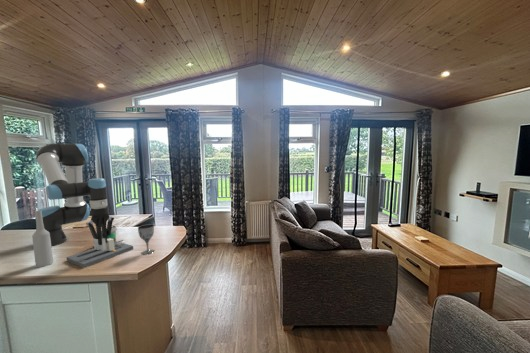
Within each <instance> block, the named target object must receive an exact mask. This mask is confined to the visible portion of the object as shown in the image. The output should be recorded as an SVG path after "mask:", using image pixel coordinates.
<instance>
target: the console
mask: <svg viewBox="0 0 530 353" xmlns="http://www.w3.org/2000/svg"><path fill="white" fill-rule="evenodd" d="M114 249H115V250H112V251H108V250H104V251H102V250H101V249H100V250H96V249H94V248H91V249H88V250H85V251H81V252H79V253H75V254H73V255H70V256H66V262H68V263H71V264H73V265H76V266H78V267H80V268H83V269H85V268H88V267H90V266H94V265H95V264H99V263H101V262H104V261H107V260H109V259H111V258H115V257H117V256H120V255H123V254H126V253H128V252H130V251H132V250H134V246H133V245H130V244H127V243H125V240H124V239H122V240H121V239H120V240H118V241H115V242H114Z"/></svg>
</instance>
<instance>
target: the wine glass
mask: <svg viewBox="0 0 530 353" xmlns="http://www.w3.org/2000/svg"><path fill="white" fill-rule="evenodd" d="M154 233H155V225H154V224H152V223H151V224H150V223H148V224H143V225H140V226H138V227H137V234H138V236H139V238H140V239H142V240H143V241H144V242H145V243H146V244H145V245H146V250H144V251H142V252H140V255H142V256H146V255H147V254H148V255H151V253H152V254H154V253H155V252H156V250H155V249H150V248H149V244H150V243H149V242H150V241H151V239H152V238H153V236H154ZM154 251H155V252H154ZM153 252H154V253H153Z"/></svg>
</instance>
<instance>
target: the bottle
mask: <svg viewBox="0 0 530 353" xmlns="http://www.w3.org/2000/svg"><path fill="white" fill-rule="evenodd" d="M34 213H35V218H36V219H35V224H36V225H35V226H36V231H34V233H33V234H32V237H31V238H32V245H33V253H34V263H35V268H44V267H48V266H50V265H52V264H54V256H53V250H52V247H53V246H51V240H50V233H49V232H48V231H47V230H45V229H44V224H43V218H42V211H38V210H35V211H34Z"/></svg>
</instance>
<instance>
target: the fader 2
mask: <svg viewBox="0 0 530 353" xmlns="http://www.w3.org/2000/svg"><path fill="white" fill-rule="evenodd" d="M106 250H108V251H112V250H115V249H114V239H111V238H109V239H107V243H106Z"/></svg>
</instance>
